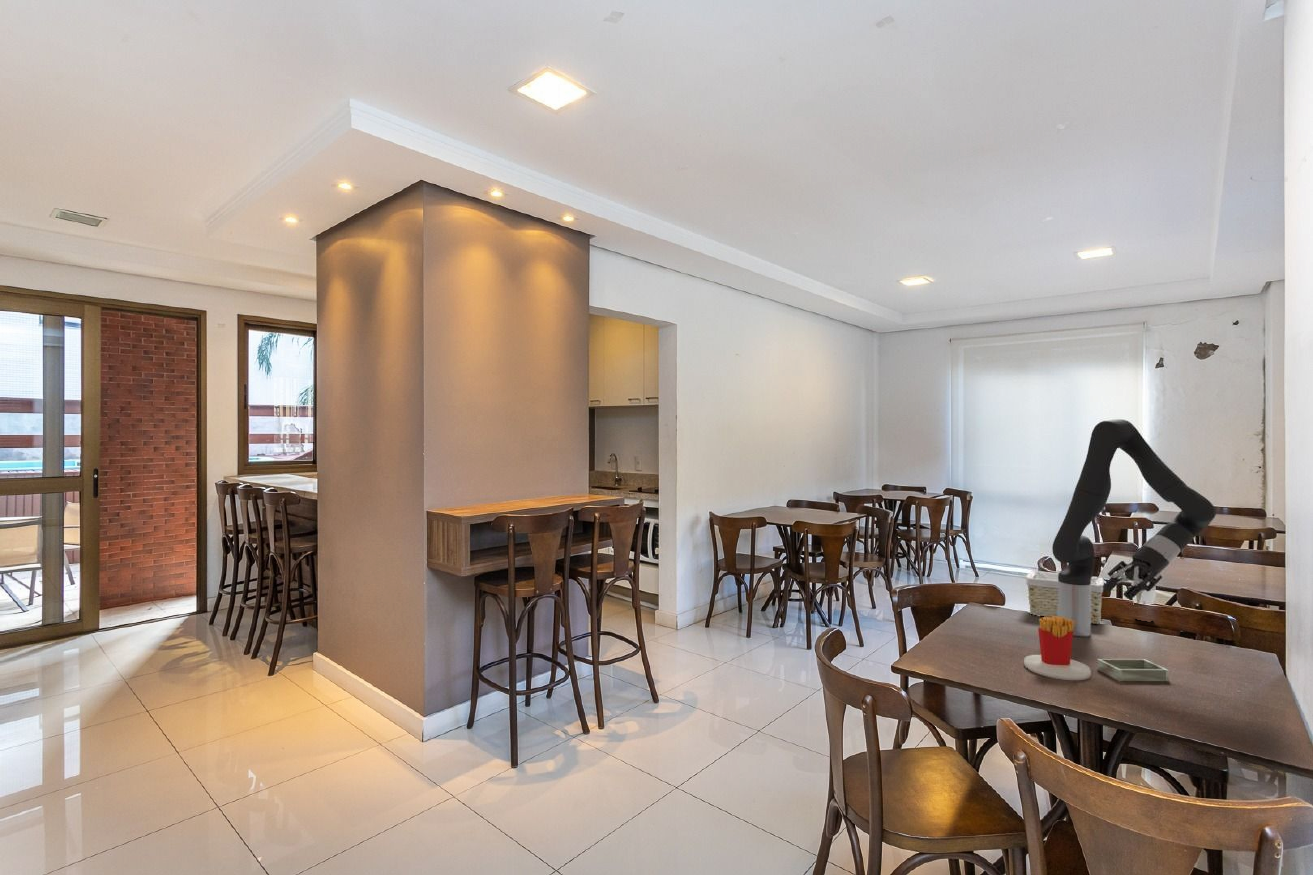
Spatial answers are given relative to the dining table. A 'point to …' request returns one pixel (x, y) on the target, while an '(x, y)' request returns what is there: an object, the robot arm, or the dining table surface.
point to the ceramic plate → (1058, 669)
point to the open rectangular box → (1132, 670)
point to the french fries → (1056, 640)
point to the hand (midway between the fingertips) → (1115, 593)
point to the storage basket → (1046, 594)
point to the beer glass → (1145, 596)
